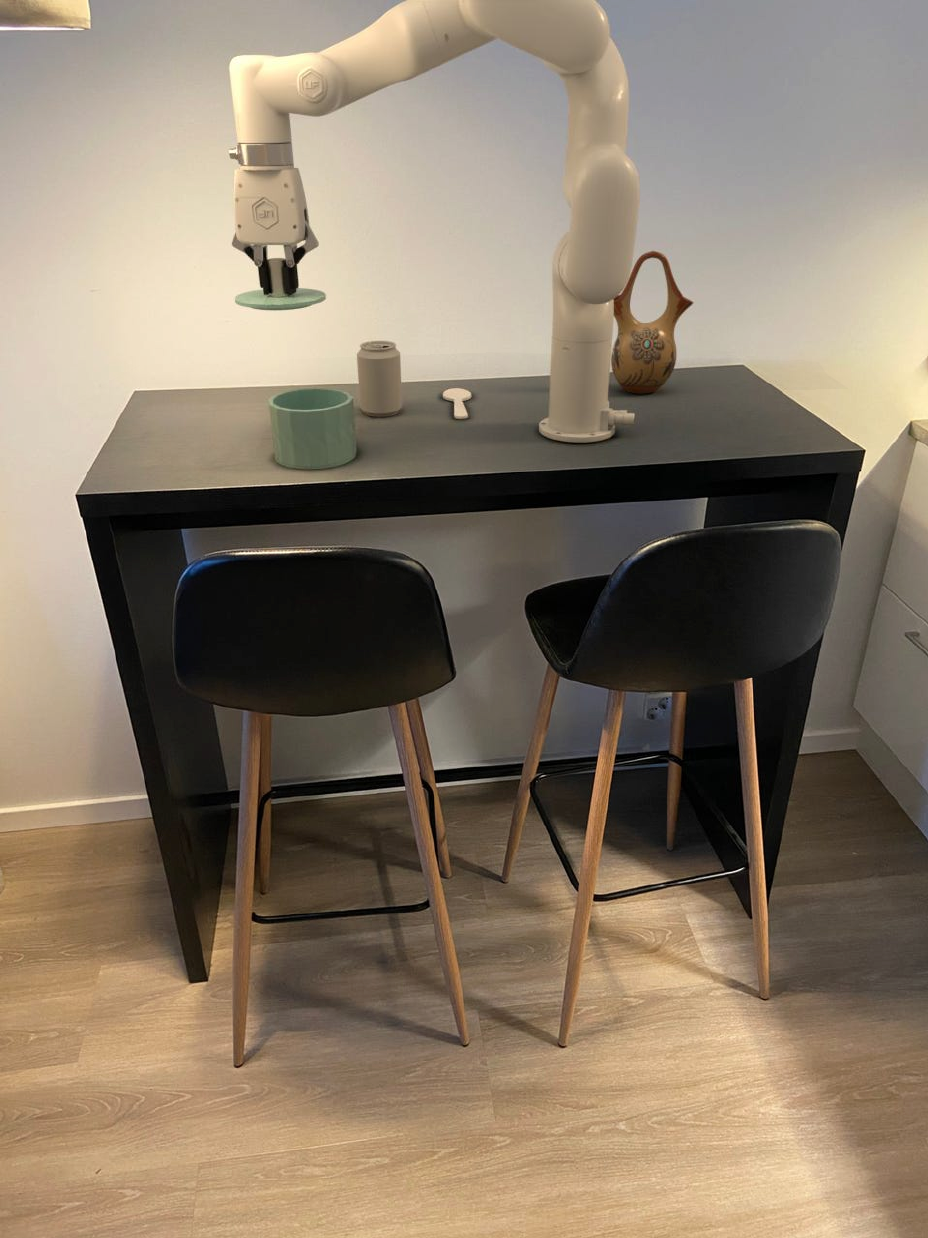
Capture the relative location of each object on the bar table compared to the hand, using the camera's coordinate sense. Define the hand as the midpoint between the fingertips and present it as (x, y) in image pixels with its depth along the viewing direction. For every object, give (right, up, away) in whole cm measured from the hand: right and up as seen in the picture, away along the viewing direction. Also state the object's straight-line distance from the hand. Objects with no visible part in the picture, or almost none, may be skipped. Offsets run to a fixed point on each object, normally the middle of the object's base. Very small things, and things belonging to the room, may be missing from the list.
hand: (280, 292), depth 138 cm
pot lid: (0, -1, +1) cm, 1 cm away
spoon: (+27, -10, +28) cm, 40 cm away
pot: (+5, -24, +5) cm, 25 cm away
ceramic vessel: (+61, -6, +35) cm, 71 cm away
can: (+13, -13, +25) cm, 31 cm away
